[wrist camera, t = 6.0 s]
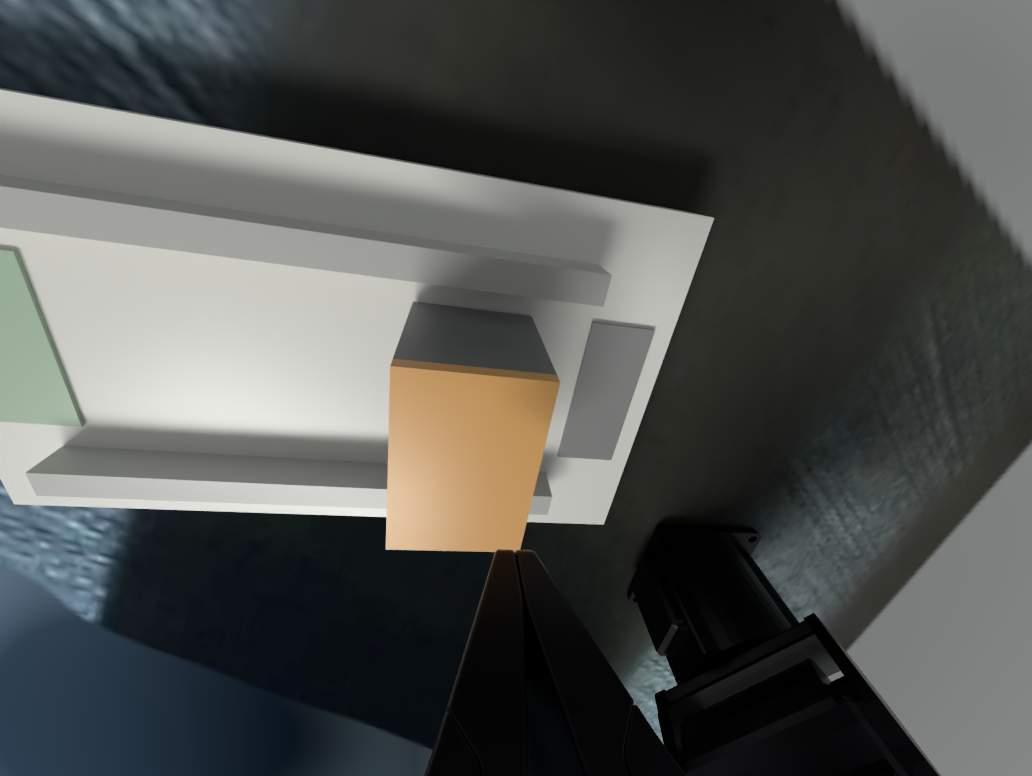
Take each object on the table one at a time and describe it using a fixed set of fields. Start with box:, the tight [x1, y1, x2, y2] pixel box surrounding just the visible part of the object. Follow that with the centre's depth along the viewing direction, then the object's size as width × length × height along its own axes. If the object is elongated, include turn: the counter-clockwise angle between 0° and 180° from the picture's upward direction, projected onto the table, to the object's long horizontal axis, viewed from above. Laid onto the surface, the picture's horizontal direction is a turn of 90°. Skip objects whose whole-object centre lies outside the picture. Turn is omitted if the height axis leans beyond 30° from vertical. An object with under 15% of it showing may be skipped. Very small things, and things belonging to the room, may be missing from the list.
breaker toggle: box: [386, 301, 560, 552], centre depth 13 cm, size 4×6×5 cm, turn 171°
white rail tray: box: [0, 88, 714, 524], centre depth 15 cm, size 24×14×4 cm, turn 81°
